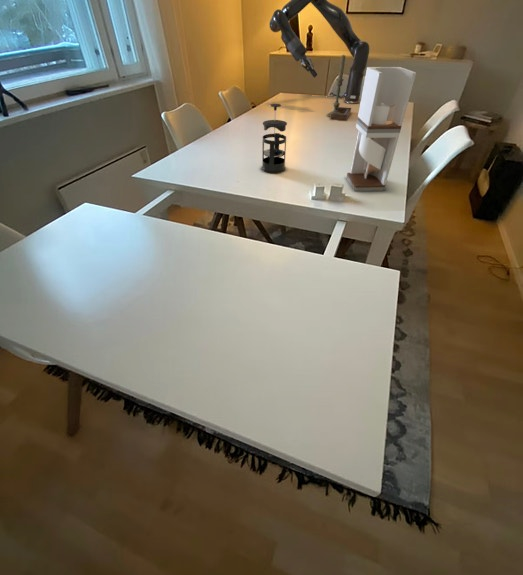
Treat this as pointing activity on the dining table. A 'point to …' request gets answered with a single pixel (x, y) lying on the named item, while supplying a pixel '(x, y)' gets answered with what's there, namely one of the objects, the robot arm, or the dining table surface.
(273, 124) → the french press
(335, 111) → the candlestick holder
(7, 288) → the dining table surface
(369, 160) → the white architectural model
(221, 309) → the dining table surface
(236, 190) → the dining table surface
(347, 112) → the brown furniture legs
